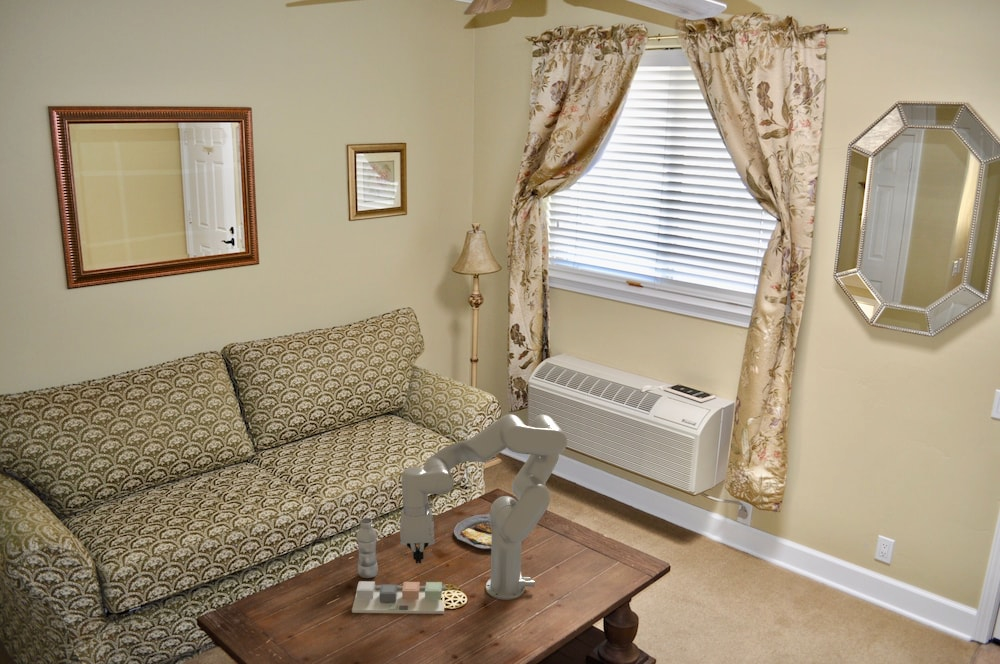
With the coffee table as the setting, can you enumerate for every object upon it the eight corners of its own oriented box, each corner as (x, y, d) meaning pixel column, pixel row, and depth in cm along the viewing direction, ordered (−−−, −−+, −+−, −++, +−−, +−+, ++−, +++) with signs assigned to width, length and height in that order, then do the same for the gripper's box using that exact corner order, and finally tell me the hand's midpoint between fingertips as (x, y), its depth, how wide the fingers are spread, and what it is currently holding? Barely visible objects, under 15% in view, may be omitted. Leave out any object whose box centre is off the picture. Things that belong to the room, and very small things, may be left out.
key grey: (375, 589, 263) (374, 581, 262) (373, 599, 258) (372, 590, 257) (359, 589, 262) (358, 581, 262) (356, 598, 258) (356, 590, 257)
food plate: (536, 533, 303) (536, 524, 302) (496, 560, 285) (496, 551, 284) (483, 513, 318) (483, 505, 317) (442, 538, 300) (442, 529, 299)
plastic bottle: (374, 582, 271) (373, 526, 265) (354, 579, 272) (352, 524, 267) (381, 571, 277) (379, 517, 272) (361, 568, 278) (360, 514, 273)
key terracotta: (419, 590, 263) (419, 581, 262) (418, 599, 258) (418, 590, 257) (403, 590, 263) (403, 581, 262) (402, 599, 258) (402, 590, 257)
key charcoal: (397, 592, 263) (397, 584, 262) (395, 602, 258) (395, 593, 257) (381, 592, 263) (381, 584, 262) (379, 602, 258) (379, 593, 257)
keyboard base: (445, 591, 267) (445, 585, 266) (443, 613, 255) (443, 608, 255) (357, 590, 266) (357, 584, 266) (351, 612, 255) (351, 607, 254)
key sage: (442, 590, 263) (442, 581, 262) (441, 599, 258) (441, 591, 257) (426, 590, 263) (426, 581, 262) (425, 599, 258) (425, 590, 257)
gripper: (441, 501, 256) (443, 554, 261) (392, 502, 256) (396, 554, 261) (439, 513, 248) (442, 567, 254) (389, 514, 249) (393, 568, 254)
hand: (418, 560), depth 257 cm, fingers closed
